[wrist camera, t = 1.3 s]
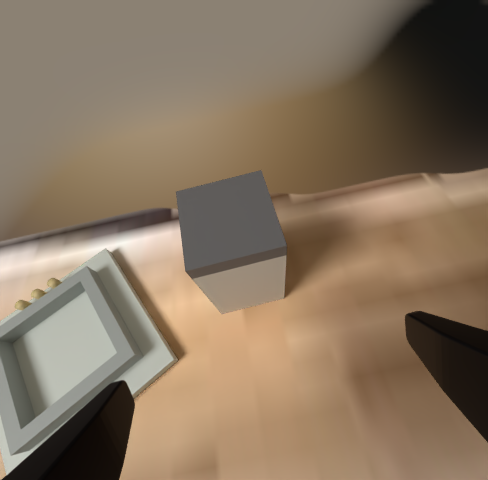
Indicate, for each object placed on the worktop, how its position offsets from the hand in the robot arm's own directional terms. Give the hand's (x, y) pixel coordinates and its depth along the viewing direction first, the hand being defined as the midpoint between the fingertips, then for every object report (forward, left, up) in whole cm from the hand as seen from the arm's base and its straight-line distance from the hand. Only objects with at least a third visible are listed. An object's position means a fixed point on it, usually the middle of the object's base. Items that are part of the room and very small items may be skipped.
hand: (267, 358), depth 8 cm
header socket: (-2, +17, -13) cm, 22 cm away
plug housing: (+7, +4, -13) cm, 16 cm away
